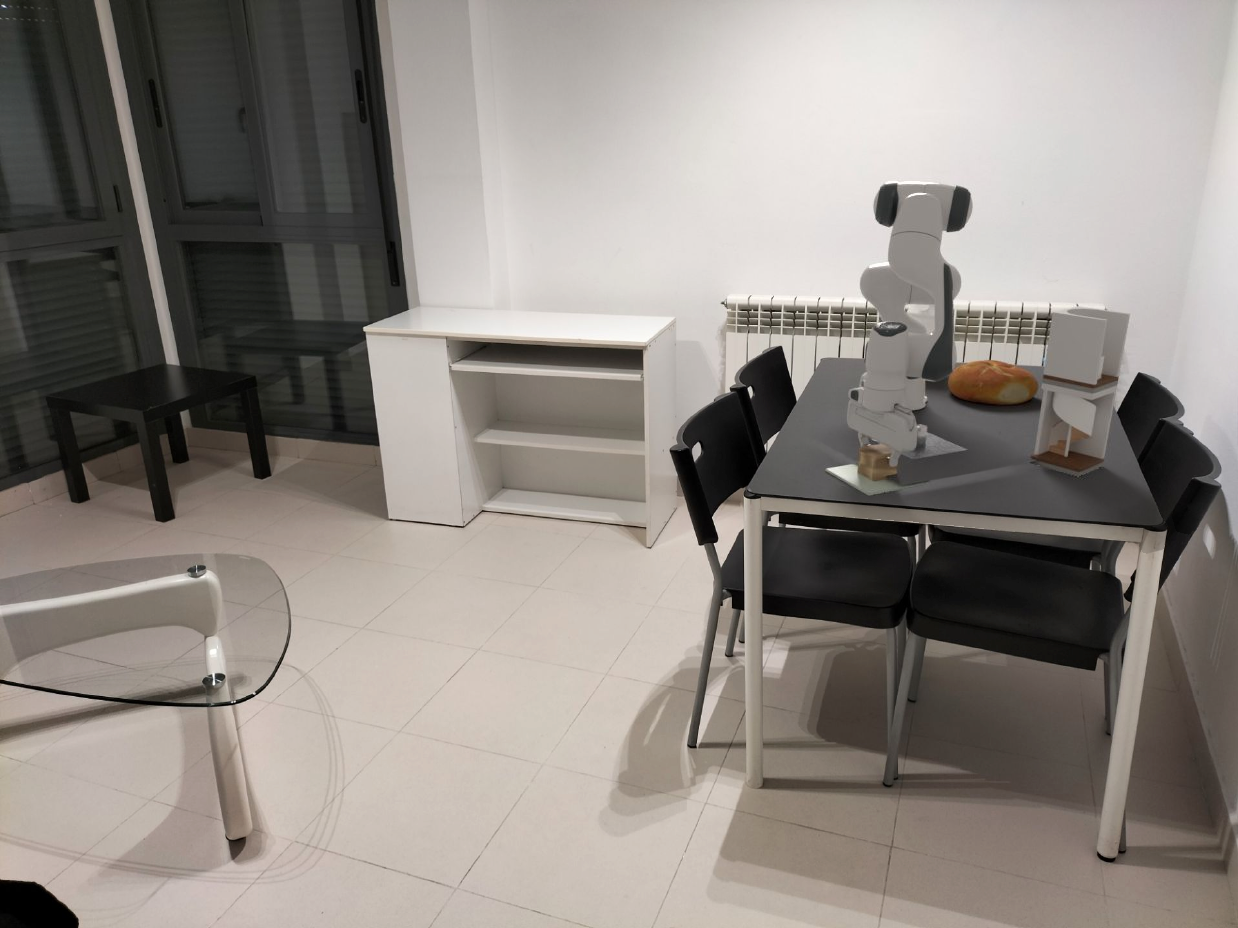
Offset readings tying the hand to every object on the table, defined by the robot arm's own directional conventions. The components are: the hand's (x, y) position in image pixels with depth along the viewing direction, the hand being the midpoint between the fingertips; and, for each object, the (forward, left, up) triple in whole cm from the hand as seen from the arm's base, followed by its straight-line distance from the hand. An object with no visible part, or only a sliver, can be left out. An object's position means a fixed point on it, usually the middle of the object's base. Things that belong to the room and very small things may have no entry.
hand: (878, 458), depth 203 cm
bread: (-39, +68, -5) cm, 79 cm away
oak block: (0, 0, -4) cm, 4 cm away
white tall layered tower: (+11, +44, -5) cm, 46 cm away
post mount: (-11, +20, -4) cm, 23 cm away
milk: (-67, +66, -5) cm, 94 cm away
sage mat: (0, 0, -4) cm, 4 cm away
